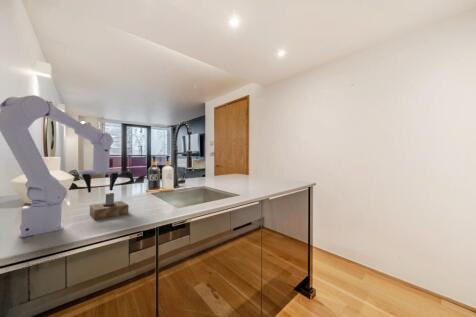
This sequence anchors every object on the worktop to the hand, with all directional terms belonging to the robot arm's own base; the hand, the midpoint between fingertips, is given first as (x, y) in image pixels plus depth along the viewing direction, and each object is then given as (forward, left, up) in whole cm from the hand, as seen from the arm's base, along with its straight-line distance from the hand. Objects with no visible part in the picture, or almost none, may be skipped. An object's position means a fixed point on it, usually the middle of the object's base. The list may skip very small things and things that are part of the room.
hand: (100, 191), depth 80 cm
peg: (+3, -3, -10) cm, 11 cm away
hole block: (+3, -3, -10) cm, 11 cm away
